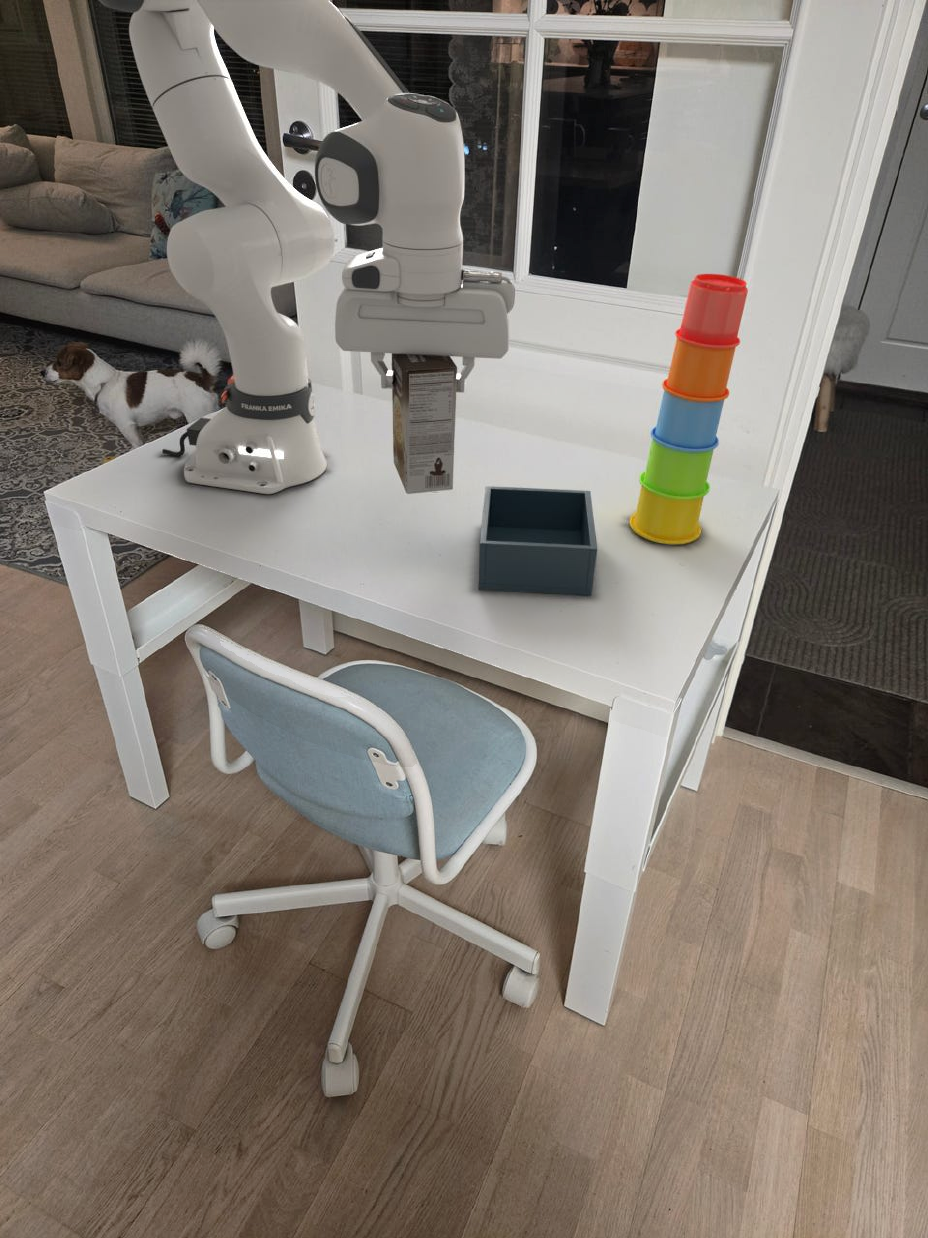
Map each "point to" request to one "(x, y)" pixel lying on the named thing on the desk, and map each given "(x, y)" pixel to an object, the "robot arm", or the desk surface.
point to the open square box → (537, 541)
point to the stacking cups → (690, 412)
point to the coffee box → (424, 421)
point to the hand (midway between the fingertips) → (423, 388)
